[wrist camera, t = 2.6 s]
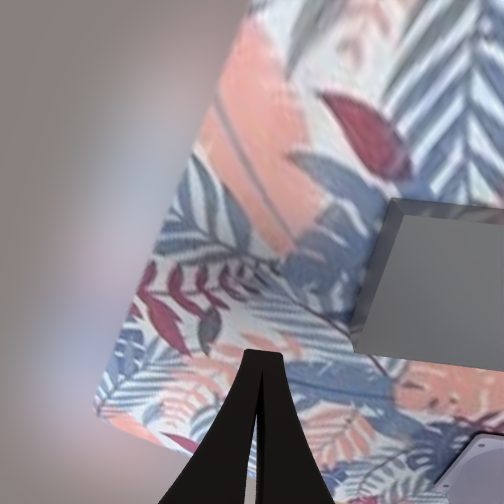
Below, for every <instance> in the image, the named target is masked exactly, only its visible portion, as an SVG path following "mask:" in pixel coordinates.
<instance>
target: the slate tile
mask: <svg viewBox="0 0 504 504" xmlns="http://www.w3.org/2000/svg"><path fill="white" fill-rule="evenodd" d="M349 332H350V336H351V341H352V345H353V349H354V353H359V354H367V355H375V356H383V357H391V358H399V359H407V360H415V361H423V362H431V363H439V364H447V365H455V366H463V367H471V368H479V369H487V370H495V371H503V372H504V209H496V208H486V207H477V206H467V205H457V204H448V203H438V202H429V201H419V200H410V199H400V198H391V201H390V204H389V207H388V210H387V213H386V216H385V219H384V222H383V225H382V228H381V231H380V234H379V237H378V240H377V243H376V246H375V249H374V252H373V255H372V258H371V261H370V264H369V268H368V271H367V274H366V277H365V280H364V283H363V286H362V289H361V292H360V295H359V298H358V301H357V304H356V307H355V310H354V313H353V316H352V319H351V322H350V325H349Z"/></svg>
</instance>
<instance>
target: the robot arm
mask: <svg viewBox="0 0 504 504" xmlns="http://www.w3.org/2000/svg"><path fill="white" fill-rule="evenodd" d="M256 415H257V465H256V501H255V504H335V502H334V500H333V498H332V497H331V495H330V493H329V491H328V488H327V486H326V484H325V482H324V480H323V478H322V476H321V473H320V471H319V469H318V467H317V464H316V462H315V460H314V458H313V455H312V453H311V450H310V448H309V445H308V443H307V440H306V438H305V435H304V432H303V430H302V427H301V424H300V421H299V419H298V416H297V412H296V409H295V406H294V403H293V400H292V397H291V393H290V389H289V385H288V381H287V377H286V373H285V368H284V361H283V355H282V354H281V353H279V352H270V351H262V350H254V349H246V350H244V355H243V358H242V362H241V365H240V368H239V370H238V373H237V375H236V378H235V380H234V382H233V385H232V387H231V389H230V391H229V393H228V395H227V397H226V399H225V401H224V403H223V405H222V407H221V409H220V411H219V413H218V414H217V416H216V418H215V420H214V422H213V424H212V425H211V427H210V429H209V430H208V432H207V434H206V435H205V437H204V439H203V440H202V442H201V443H200V445H199V447H198V448H197V450H196V451H195V453H194V454H193V456H192V457H191V459H190V460H189V462H188V463H187V465H186V466H185V468H184V469H183V471H182V472H181V474H180V475H179V476H178V478H177V479H176V480H175V482H174V483H173V485H172V486H171V487H170V488H169V490H168V491H167V492H166V494H165V495H164V496H163V498H162V499H161V500H160V501H159V503H158V504H244V499H245V488H246V478H247V467H248V460H249V455H250V449H251V443H252V438H253V432H254V426H255V420H256ZM434 488H435V491H436V492H438V493H442V494H446V495H447V498H448V500H449V503H450V504H504V436H497V435H490V434H479V435H477V436H476V437H475V438H474V439H473V440H472V441H471V443H470V444H469V445H468V446H467V447H466V449H465V450H464V451H463V452H462V453H461V455H460V456H459V457H458V458H457V459H456V461H455V462H454V463H453V464H452V465H451V467H450V468H449V469H448V470H447V471H446V473H445V474H444V475H443V476H442V477H441V479H440V480H439V481H438V482H437V483H436V485H435V486H434Z"/></svg>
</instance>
